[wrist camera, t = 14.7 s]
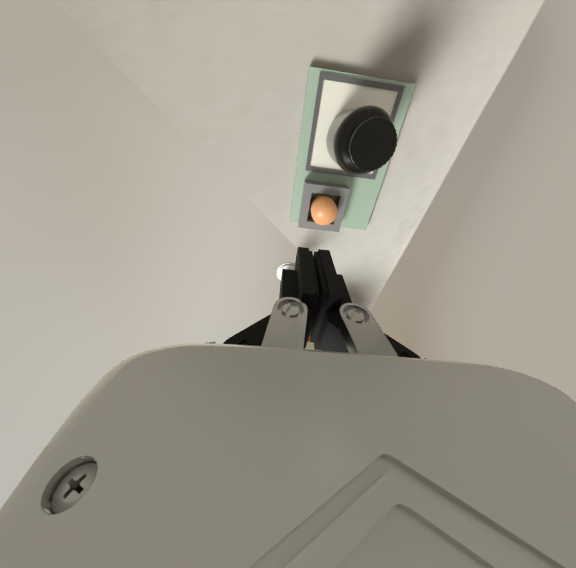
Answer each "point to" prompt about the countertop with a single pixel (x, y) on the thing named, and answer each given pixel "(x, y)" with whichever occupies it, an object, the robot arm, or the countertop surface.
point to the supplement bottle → (362, 139)
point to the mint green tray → (314, 155)
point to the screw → (284, 266)
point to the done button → (323, 209)
